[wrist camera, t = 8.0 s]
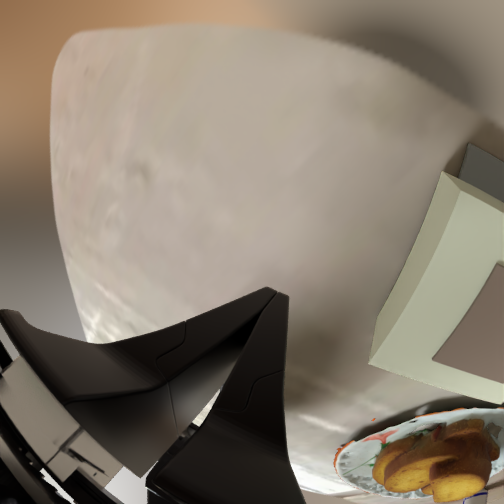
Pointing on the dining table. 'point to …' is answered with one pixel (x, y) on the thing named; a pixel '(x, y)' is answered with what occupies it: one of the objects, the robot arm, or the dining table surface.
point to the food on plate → (427, 457)
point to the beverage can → (477, 498)
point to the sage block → (450, 298)
